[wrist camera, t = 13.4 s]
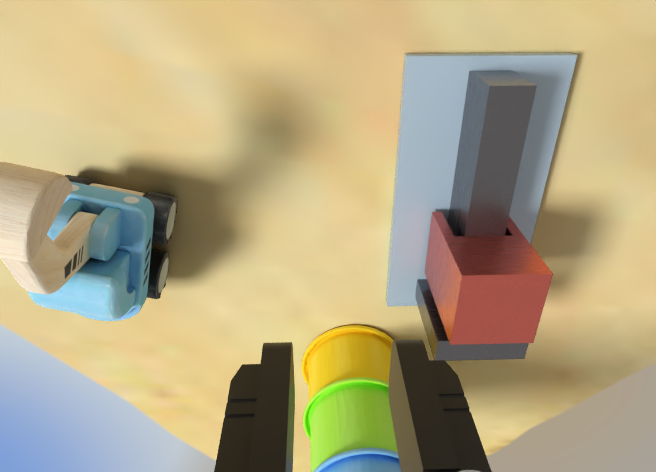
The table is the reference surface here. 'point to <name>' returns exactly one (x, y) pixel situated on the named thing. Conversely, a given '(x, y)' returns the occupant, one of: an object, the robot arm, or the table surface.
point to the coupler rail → (483, 188)
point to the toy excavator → (83, 241)
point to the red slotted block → (486, 284)
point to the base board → (442, 147)
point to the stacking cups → (350, 401)
